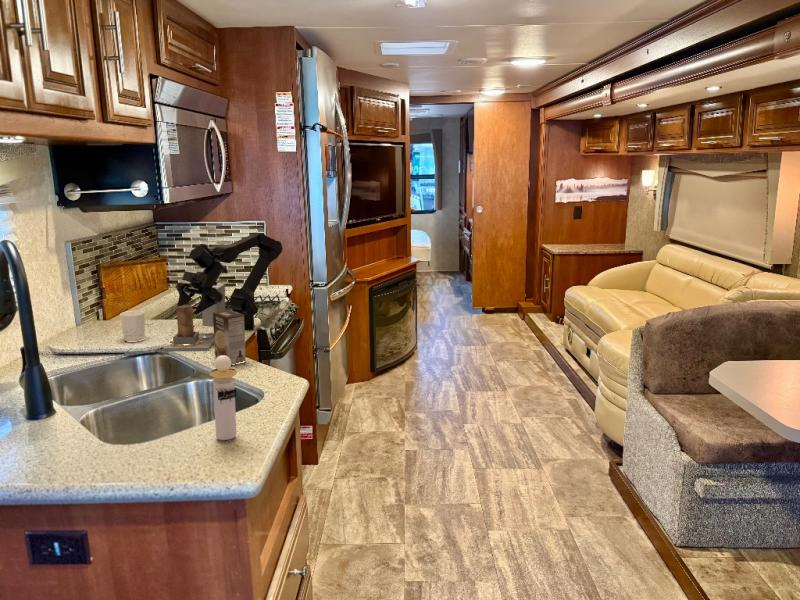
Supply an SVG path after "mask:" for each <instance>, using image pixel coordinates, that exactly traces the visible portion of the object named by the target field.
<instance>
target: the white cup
mask: <svg viewBox="0 0 800 600" xmlns="http://www.w3.org/2000/svg"><path fill="white" fill-rule="evenodd" d="M119 315H120V322H121V330H122V334H123V341H124V340H125V341H139V340H142V339H144V338H145V335H146V333H145V332H146V323H145V321H146V317H145V311H143V310H129V311H128V310H127V311H123V312H121V313H120V314H119ZM145 339H146V338H145ZM145 339H144V340H145ZM125 341H124V342H125Z"/></svg>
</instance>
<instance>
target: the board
mask: <svg viewBox="0 0 800 600" xmlns="http://www.w3.org/2000/svg"><path fill="white" fill-rule="evenodd" d="M199 335H200V333H199ZM200 341H204V343H199V344H198V346H195V347H194V346H189V347H185V348H181V347H178V346H175V347H172V346H171V344H170V345H167V346H165V345H164V346H163V347H162V352H186V351H187V352H191V351H192V352H195V351H196V352H197V351H201V352H203V351H205V352H206V351H207V352H209V351H210V350H211V348H212V346H213V345H214V338H210V340H207V339H202V340H200Z"/></svg>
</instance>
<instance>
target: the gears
mask: <svg viewBox="0 0 800 600" xmlns="http://www.w3.org/2000/svg"><path fill="white" fill-rule="evenodd" d="M199 334H200V335H199ZM172 338H173V341H170V340H169V341H170V343H172V344H171V346H172V347H175V346H178V347H181V348H185V347H189V346H194V347H195V346H198V344H199V343H204V341H200V340H202V339H207V340H210V338H214V332H210V333H204V332H202V333H201V332H199V331H194V335H193V337H178V332H177V333H176V334H175V335H173V337H172Z"/></svg>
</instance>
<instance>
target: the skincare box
mask: <svg viewBox="0 0 800 600" xmlns="http://www.w3.org/2000/svg"><path fill="white" fill-rule="evenodd" d="M213 288H216V289H217V290H218V291H219V292H220V293H221V294H222V295H223V299H222V301H221V302H220V303H218V302H217V304H214V305H212V306H211V307H209V308H207V309H205V310H204V311H202V312H201V313H202V314H201V315H202V316H201V318H202V319H201V321H202V323H201V324H202V326H209V327H214V326H213V313H214V312H219V311H225V310H226V284H224V283H218V284H217V285H216V286H214V285H213Z"/></svg>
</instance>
